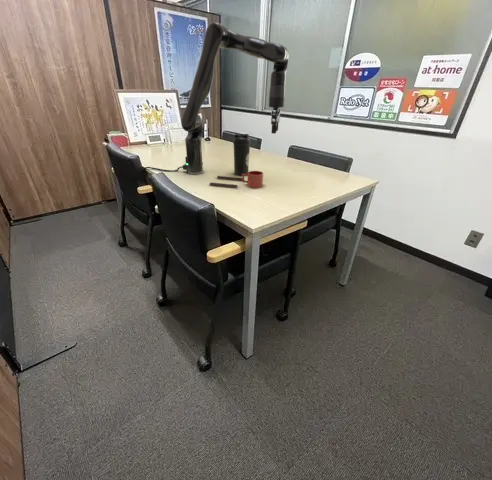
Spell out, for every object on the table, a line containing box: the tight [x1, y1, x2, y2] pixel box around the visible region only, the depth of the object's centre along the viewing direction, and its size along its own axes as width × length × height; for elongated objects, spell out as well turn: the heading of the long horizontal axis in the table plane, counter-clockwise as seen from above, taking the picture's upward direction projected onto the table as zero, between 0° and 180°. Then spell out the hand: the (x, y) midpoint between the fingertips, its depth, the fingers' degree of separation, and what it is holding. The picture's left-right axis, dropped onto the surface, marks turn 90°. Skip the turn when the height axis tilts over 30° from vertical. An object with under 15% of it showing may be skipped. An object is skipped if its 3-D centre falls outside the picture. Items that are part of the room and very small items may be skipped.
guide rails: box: [209, 175, 242, 189], centre depth 147 cm, size 15×14×2 cm
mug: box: [241, 170, 264, 189], centre depth 142 cm, size 11×8×7 cm
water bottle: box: [232, 133, 252, 177], centre depth 156 cm, size 10×10×23 cm
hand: (274, 132), depth 136 cm, fingers open, 8 cm apart
